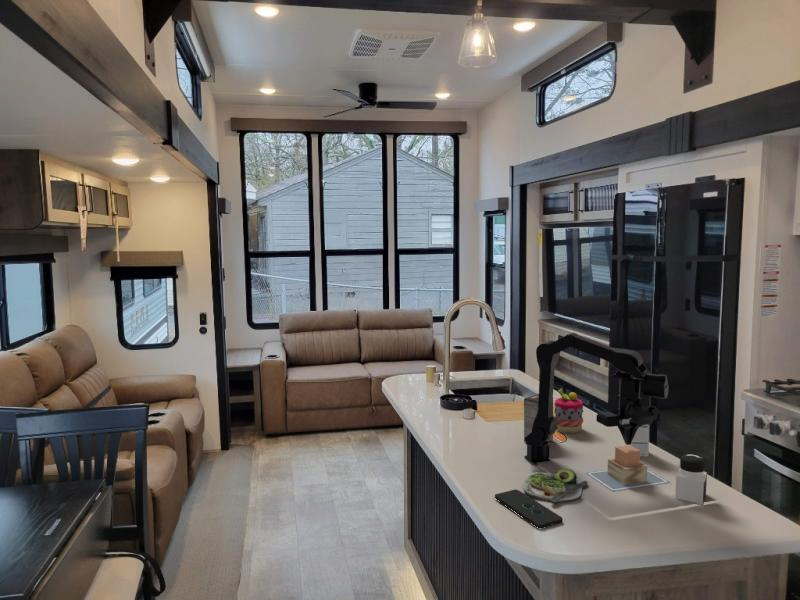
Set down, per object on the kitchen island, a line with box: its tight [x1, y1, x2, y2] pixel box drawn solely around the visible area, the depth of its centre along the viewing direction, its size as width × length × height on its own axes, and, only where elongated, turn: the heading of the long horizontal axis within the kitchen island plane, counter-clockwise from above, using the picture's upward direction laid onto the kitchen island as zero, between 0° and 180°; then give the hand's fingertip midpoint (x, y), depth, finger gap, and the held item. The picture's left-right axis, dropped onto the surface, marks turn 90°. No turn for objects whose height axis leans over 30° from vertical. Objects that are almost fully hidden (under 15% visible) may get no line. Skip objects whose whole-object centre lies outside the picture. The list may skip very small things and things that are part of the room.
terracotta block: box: [614, 445, 641, 468], centre depth 180 cm, size 5×5×5 cm
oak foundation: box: [607, 457, 649, 485], centre depth 181 cm, size 8×8×5 cm
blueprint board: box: [584, 469, 672, 493], centre depth 181 cm, size 20×14×1 cm
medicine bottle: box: [674, 454, 708, 506], centre depth 167 cm, size 7×7×12 cm
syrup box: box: [630, 425, 650, 458], centre depth 200 cm, size 6×6×14 cm
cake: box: [553, 388, 584, 434], centre depth 226 cm, size 10×11×15 cm
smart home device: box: [494, 489, 564, 529], centre depth 163 cm, size 8×2×20 cm
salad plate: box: [522, 468, 589, 503], centre depth 174 cm, size 19×18×5 cm
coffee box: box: [523, 393, 554, 443], centre depth 214 cm, size 9×6×16 cm
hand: (628, 444), depth 180 cm, fingers closed
